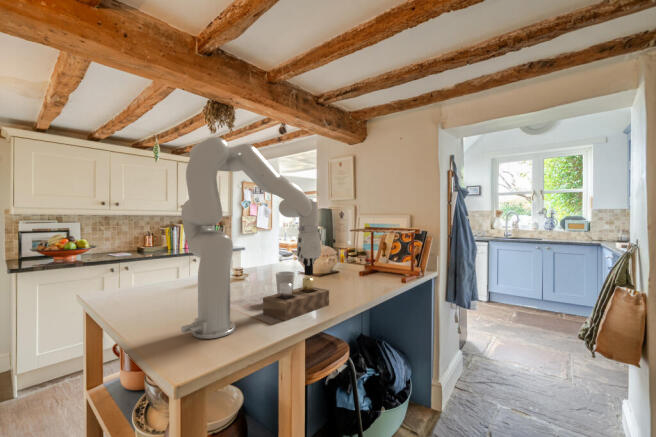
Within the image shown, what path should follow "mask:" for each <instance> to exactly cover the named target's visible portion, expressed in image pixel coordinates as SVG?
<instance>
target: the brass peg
mask: <svg viewBox="0 0 656 437" xmlns="http://www.w3.org/2000/svg"><path fill="white" fill-rule="evenodd" d="M314 281H315V280H314V277H310V276H308V277H307V276H306V277H303V278H302V287H303V292H304V293H308V294H309V293H312V292H314V286H315V285H314Z"/></svg>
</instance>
